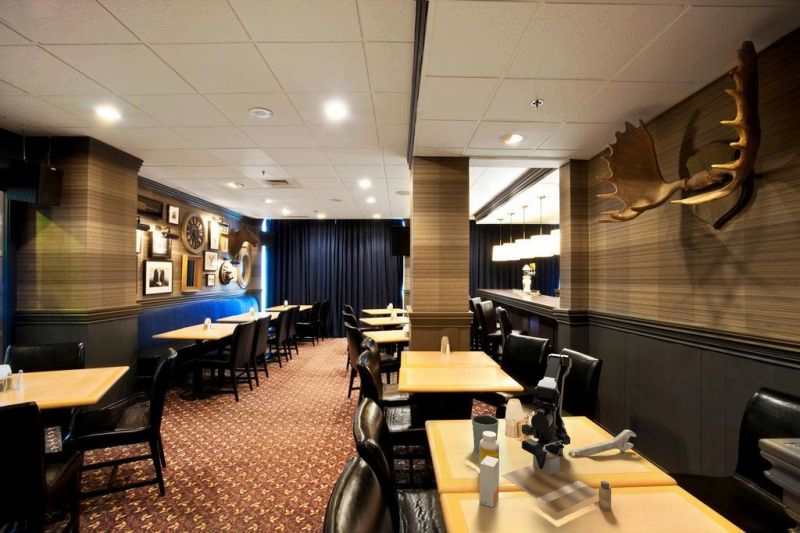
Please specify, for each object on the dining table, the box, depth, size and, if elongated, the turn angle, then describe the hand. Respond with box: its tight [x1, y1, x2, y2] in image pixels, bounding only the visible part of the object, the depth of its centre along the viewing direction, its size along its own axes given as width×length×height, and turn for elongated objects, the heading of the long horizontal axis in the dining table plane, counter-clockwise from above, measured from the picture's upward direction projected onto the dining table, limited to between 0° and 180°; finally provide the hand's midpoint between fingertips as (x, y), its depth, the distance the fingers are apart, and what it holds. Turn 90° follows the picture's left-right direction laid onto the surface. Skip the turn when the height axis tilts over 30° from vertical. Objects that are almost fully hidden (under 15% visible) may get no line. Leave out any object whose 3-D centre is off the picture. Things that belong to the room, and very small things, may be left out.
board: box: [501, 463, 599, 513], centre depth 122 cm, size 20×22×1 cm
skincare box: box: [479, 456, 500, 508], centre depth 114 cm, size 6×4×12 cm
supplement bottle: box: [478, 431, 500, 469], centre depth 131 cm, size 7×7×13 cm
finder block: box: [532, 448, 561, 475], centre depth 131 cm, size 5×7×5 cm
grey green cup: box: [471, 414, 499, 454], centre depth 146 cm, size 10×10×12 cm
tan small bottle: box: [598, 480, 612, 512], centre depth 112 cm, size 3×3×7 cm
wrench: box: [568, 429, 637, 458], centre depth 144 cm, size 8×2×30 cm
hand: (546, 466), depth 131 cm, fingers closed on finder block, 5 cm apart
